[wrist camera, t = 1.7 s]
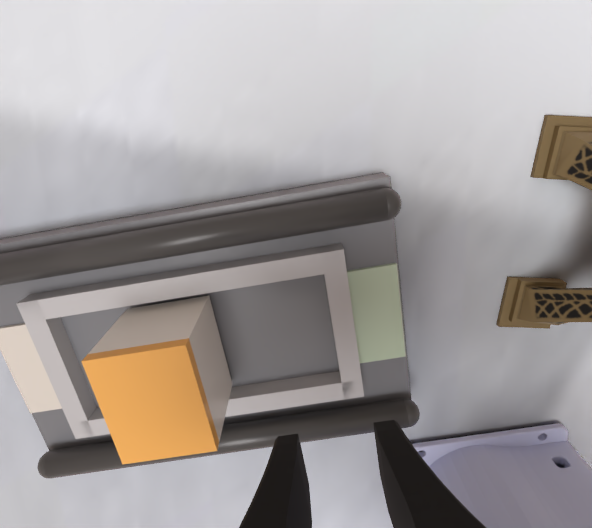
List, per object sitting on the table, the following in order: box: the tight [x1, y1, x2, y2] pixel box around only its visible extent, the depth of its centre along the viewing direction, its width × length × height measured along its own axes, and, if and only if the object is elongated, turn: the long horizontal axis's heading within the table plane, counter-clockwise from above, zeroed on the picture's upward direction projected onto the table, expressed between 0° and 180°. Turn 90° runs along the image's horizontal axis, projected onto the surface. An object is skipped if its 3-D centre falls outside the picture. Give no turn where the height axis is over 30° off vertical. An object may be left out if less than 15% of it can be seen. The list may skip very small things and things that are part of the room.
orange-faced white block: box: [81, 296, 232, 464], centre depth 18 cm, size 4×5×4 cm
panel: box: [0, 173, 420, 478], centre depth 21 cm, size 20×13×3 cm, turn 100°
